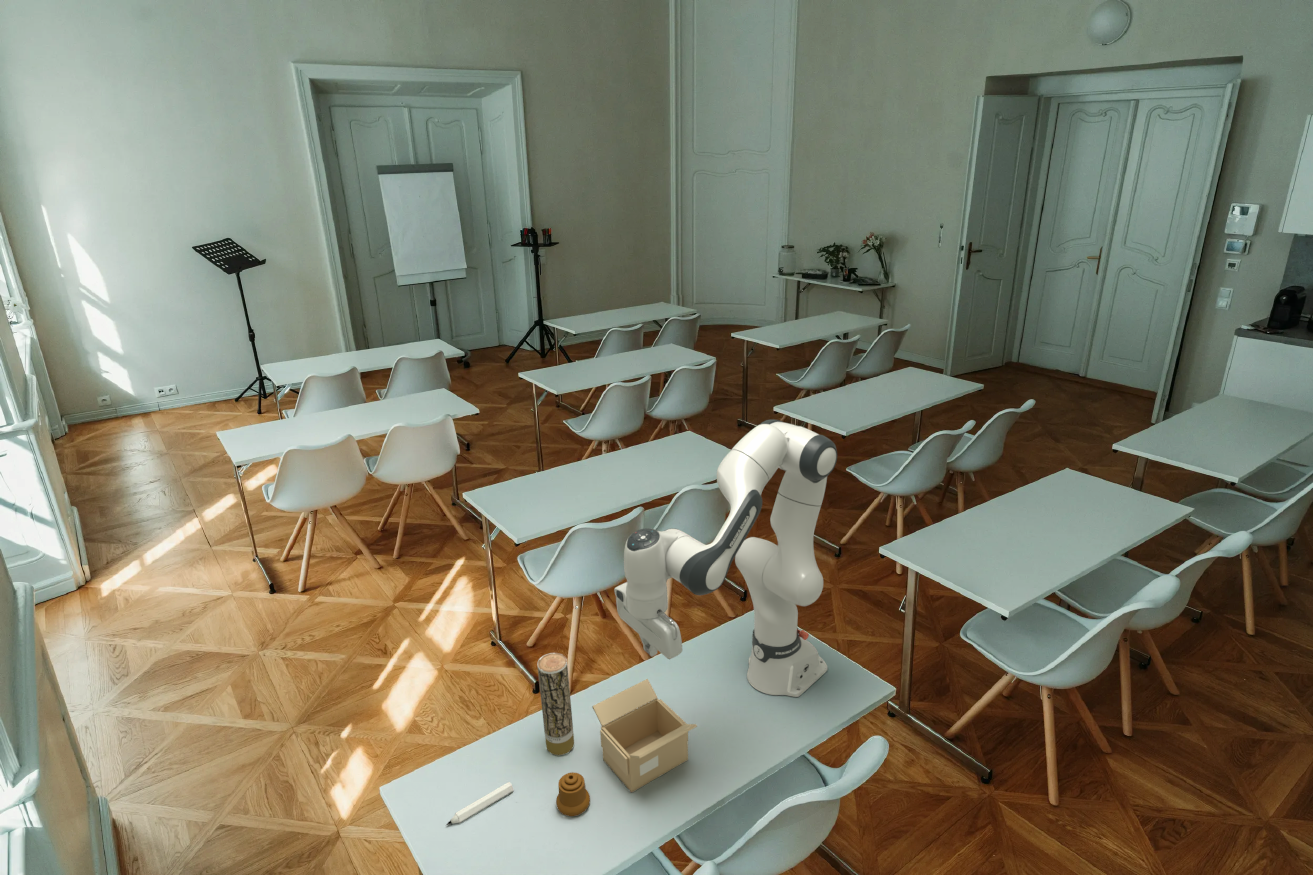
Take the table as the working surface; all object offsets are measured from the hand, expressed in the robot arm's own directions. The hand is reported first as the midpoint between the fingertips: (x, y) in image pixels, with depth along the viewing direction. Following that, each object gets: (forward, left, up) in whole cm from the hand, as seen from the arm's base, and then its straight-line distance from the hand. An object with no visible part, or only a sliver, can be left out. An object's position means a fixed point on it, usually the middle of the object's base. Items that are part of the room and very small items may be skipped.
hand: (650, 652), depth 172 cm
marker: (+40, -11, -30) cm, 51 cm away
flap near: (+3, +6, -19) cm, 20 cm away
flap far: (+3, -6, -19) cm, 20 cm away
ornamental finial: (+23, +1, -30) cm, 38 cm away
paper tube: (+17, -16, -30) cm, 38 cm away
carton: (+3, 0, -30) cm, 30 cm away
